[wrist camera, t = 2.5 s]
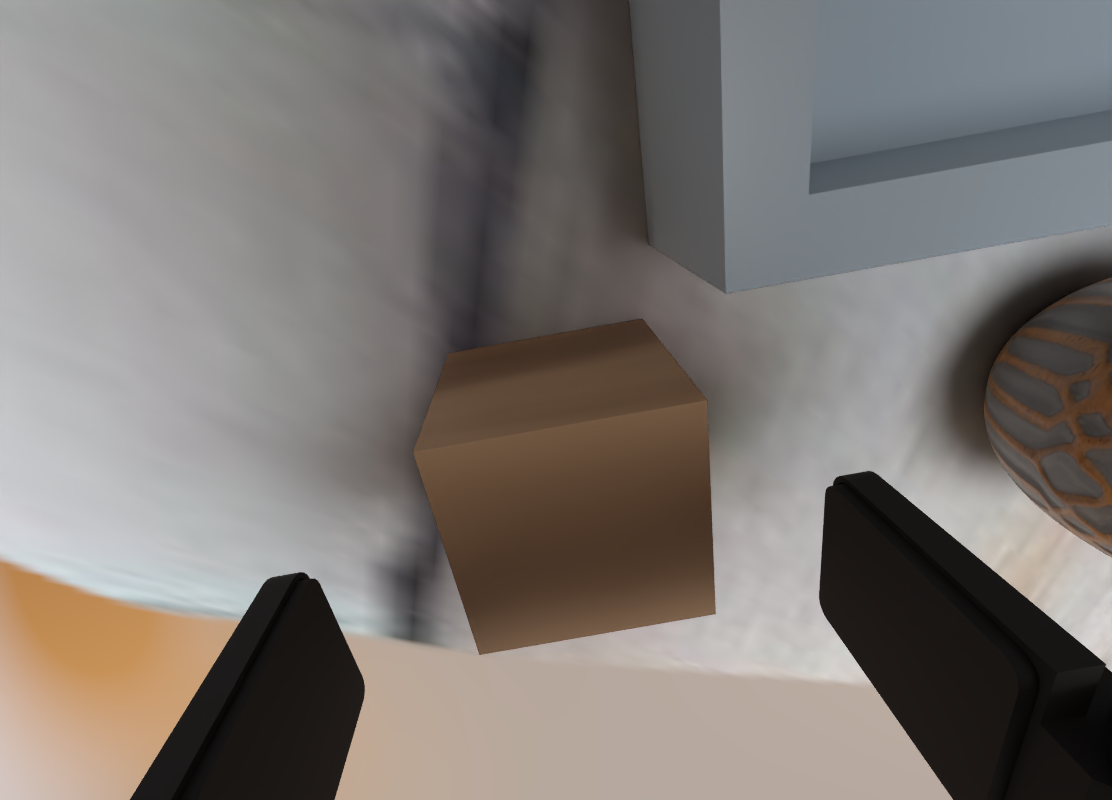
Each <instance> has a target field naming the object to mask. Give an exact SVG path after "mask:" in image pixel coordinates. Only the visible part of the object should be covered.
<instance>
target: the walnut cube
mask: <svg viewBox="0 0 1112 800" xmlns="http://www.w3.org/2000/svg"><path fill="white" fill-rule="evenodd" d="M413 454H414V457H415V460H416V463H417V466H418V469H419V472H420V475H421V478H422V481H423V484H424V487H425V490H426V493H427V496H428V499H429V502H430V506H431V509H432V512H433V515H434V518H435V521H436V524H437V527H438V530H439V533H440V536H441V539H442V542H443V545H444V548H445V551H446V554H447V557H448V560H449V563H450V566H451V569H452V572H453V575H454V579H455V582H456V585H457V588H458V591H459V594H460V597H461V600H462V603H463V606H464V609H465V612H466V615H467V618H468V621H469V624H470V627H471V630H472V633H473V636H474V639H475V642H476V645H477V648H478V652H479V655H481V654H487V653H493V652H499V651H505V650H510V649H516V648H522V647H528V646H533V645H539V644H545V643H551V642H557V641H562V640H568V639H574V638H580V637H585V636H591V635H597V634H603V633H608V632H614V631H620V630H626V629H632V628H637V627H643V626H649V625H655V624H660V623H666V622H672V621H678V620H683V619H689V618H695V617H701V616H707V615H712V614H716V611H715V586H714V561H713V536H712V511H711V486H710V461H709V436H708V410H707V400H706V398H705V397H704V396H703V395H702V393H701V392H700V391H699V389H698V388H697V387H696V386H695V384H694V383H693V382H692V381H691V379H690V378H689V377H688V376H687V374H686V373H685V372H684V371H683V369H682V368H681V367H680V365H679V364H678V363H677V362H676V360H675V359H674V358H673V357H672V355H671V354H670V353H669V352H668V350H667V349H666V348H665V347H664V345H663V344H662V343H661V341H660V340H659V339H658V338H657V336H656V335H655V334H654V333H653V331H652V330H651V329H650V328H649V326H648V325H647V324H646V323H645V321H644V320H643V319H637V320H632V321H626V322H621V323H615V324H609V325H604V326H598V327H592V328H587V329H581V330H576V331H570V332H564V333H559V334H553V335H547V336H542V337H536V338H531V339H525V340H519V341H514V342H508V343H502V344H497V345H491V346H486V347H480V348H474V349H469V350H463V351H457V352H452V353H448V356H447V359H446V361H445V364H444V367H443V370H442V373H441V375H440V378H439V381H438V384H437V386H436V389H435V392H434V395H433V398H432V400H431V403H430V406H429V409H428V412H427V414H426V417H425V420H424V423H423V426H422V428H421V431H420V434H419V437H418V440H417V442H416V445H415V448H414V451H413Z"/></svg>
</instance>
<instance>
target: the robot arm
mask: <svg viewBox="0 0 1112 800" xmlns="http://www.w3.org/2000/svg"><path fill="white" fill-rule="evenodd" d="M819 600H820V605H821V608H822V611H823V613H824V615H825V617H826V618H827V620H828V621H829V623H830V624H831V626H832V627H833V628H834V630H835V631H836V633H837V634H838V636H839V637H840V638H841V640H842V641H843V643H844V644H845V646H846V647H847V648H848V650H849V651H850V653H851V654H852V656H853V657H854V658H855V660H856V661H857V663H858V664H859V666H860V667H861V668H862V670H863V671H864V673H865V674H866V676H867V677H868V678H869V680H870V681H871V683H872V684H873V686H874V687H875V688H876V690H877V691H878V693H879V694H880V696H881V697H882V698H883V700H884V701H885V703H886V704H887V706H888V707H889V709H890V710H891V711H892V713H893V714H894V715H895V717H896V718H897V720H898V721H899V723H900V724H901V726H902V727H903V728H904V730H905V731H906V733H907V734H908V736H909V737H910V739H911V740H912V741H913V743H914V744H915V745H916V747H917V748H918V750H919V751H920V753H921V754H922V756H923V757H924V759H925V760H926V761H927V763H928V764H929V766H930V767H931V769H932V770H933V771H934V773H935V774H936V776H937V777H938V778H939V780H940V781H941V783H942V784H943V786H944V787H945V789H946V790H947V791H948V793H949V794H950V796H951V797H952V799H953V800H1112V672H1111V671H1110V670H1108V669H1107V668H1106V667H1105V666H1106V664H1105V663H1104V662H1103V661H1102V660H1100V659H1099V658H1098V657H1097V656H1096V655H1094V654H1093V653H1092V652H1091V651H1090V650H1088V649H1087V648H1086V647H1085V646H1084V645H1082V644H1081V643H1080V642H1079V641H1078V640H1076V639H1075V638H1074V637H1073V636H1072V635H1070V634H1069V633H1068V632H1067V631H1065V630H1064V629H1063V628H1062V627H1061V626H1059V625H1058V624H1057V623H1056V622H1055V621H1053V620H1052V619H1051V618H1050V617H1049V616H1047V615H1046V614H1045V613H1044V612H1043V611H1041V610H1040V609H1039V608H1038V607H1037V606H1035V605H1034V604H1033V603H1032V602H1031V601H1029V600H1028V599H1027V598H1026V597H1024V596H1023V595H1022V594H1021V593H1020V592H1018V591H1017V590H1016V589H1015V588H1014V587H1012V586H1011V585H1010V584H1009V583H1008V582H1006V581H1005V580H1004V579H1003V578H1002V577H1000V576H999V575H998V574H997V573H996V572H994V571H993V570H992V569H991V568H990V567H988V566H987V565H986V564H985V563H983V562H982V561H981V560H980V559H979V558H977V557H976V556H975V555H974V554H973V553H971V552H970V551H969V550H968V549H967V548H965V547H964V546H963V545H962V544H961V543H959V542H958V541H957V540H956V539H955V538H953V537H952V536H951V535H950V534H949V533H947V532H946V531H945V530H944V529H942V528H941V527H940V526H939V525H938V524H936V523H935V522H934V521H933V520H932V519H930V518H929V517H928V516H927V515H926V514H924V513H923V512H922V511H921V510H920V509H918V508H917V507H916V506H915V505H914V504H912V503H911V502H910V501H909V500H908V499H906V498H905V497H904V496H903V495H901V494H900V493H899V492H898V491H897V490H895V489H894V488H893V487H892V486H891V485H889V484H888V483H887V482H886V481H885V480H883V479H882V478H881V477H880V476H879V475H877V474H876V473H874V472H871V471H866V472H861V473H855V474H849V475H844V476H839V477H837V478H836V479H835V480H834V483H833V486H830V487H828V488H827V489H826V493H825V508H824V524H823V541H822V557H821V574H820V590H819ZM364 691H365V686H364V680H363V677H362V675H361V673H360V670H359V668H358V666H357V664H356V662H355V660H354V657H353V655H352V653H351V651H350V649H349V646H348V644H347V642H346V640H345V638H344V635H343V633H342V631H341V629H340V627H339V625H338V622H337V620H336V618H335V616H334V614H333V612H332V609H331V607H330V605H329V603H328V601H327V598H326V596H325V594H324V592H323V590H322V588H321V585H320V583H319V582H318V581H317V580H316V579H310V578H309V576H308V575H307V574H305V573H302V572H300V573H294V574H289V575H283V576H277V577H272V578H270V579H268V580H267V581H266V582H265V583H264V584H263V586H262V587H261V589H260V591H259V592H258V594H257V595H256V597H255V599H254V600H253V602H252V604H251V605H250V607H249V608H248V610H247V612H246V613H245V615H244V616H243V618H242V620H241V621H240V623H239V624H238V626H237V628H236V629H235V631H234V633H233V634H232V636H231V638H230V639H229V641H228V642H227V644H226V646H225V647H224V649H223V650H222V652H221V654H220V655H219V657H218V658H217V660H216V662H215V663H214V665H213V667H212V668H211V670H210V671H209V673H208V675H207V676H206V678H205V679H204V681H203V683H202V684H201V686H200V687H199V689H198V691H197V692H196V694H195V696H194V697H193V699H192V700H191V702H190V704H189V705H188V707H187V708H186V710H185V712H184V713H183V715H182V717H181V718H180V720H179V721H178V723H177V725H176V726H175V728H174V729H173V731H172V733H171V734H170V736H169V737H168V739H167V741H166V742H165V744H164V746H163V747H162V749H161V750H160V752H159V754H158V755H157V757H156V759H155V760H154V762H153V763H152V765H151V767H150V768H149V770H148V771H147V773H146V775H145V776H144V778H143V779H142V781H141V783H140V784H139V786H138V788H137V789H136V791H135V792H134V794H133V796H132V797H131V799H130V800H334V799H335V796H336V792H337V789H338V786H339V782H340V779H341V775H342V772H343V769H344V765H345V762H346V758H347V755H348V751H349V748H350V744H351V741H352V738H353V734H354V731H355V728H356V724H357V721H358V717H359V713H360V710H361V707H362V703H363V700H364Z"/></svg>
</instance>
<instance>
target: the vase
mask: <svg viewBox="0 0 1112 800" xmlns="http://www.w3.org/2000/svg"><path fill="white" fill-rule="evenodd" d="M984 418H985V424H986V429H987V433H988V438H989V441H990V444H991V446H992V448H993V450H994V452H995V454H996V456H997V457H998V459H999V461H1000V463H1001V464H1002V466H1003V468H1004V469H1005V470H1006V472H1007V473H1008V474H1009V475H1010V477H1011V478H1012V479H1013V481H1014V482H1015V483H1016V485H1017V486H1018V487H1019V488H1020V489H1021V490H1022V491H1023V492H1024V493H1025V494H1026V495H1027V496H1028V497H1029V498H1030V499H1031V500H1032V501H1033V502H1034V503H1035V504H1036V505H1037V506H1038V507H1039V508H1040V509H1042V510H1043V511H1044V512H1045V513H1047V514H1048V515H1049V516H1050V517H1052V518H1053V519H1054V520H1055V521H1057V522H1058V523H1059V524H1060V525H1062V526H1063V527H1065V528H1066V529H1068V530H1069V531H1070V532H1072V533H1073V534H1075V535H1076V536H1077V537H1079V538H1080V539H1082V540H1084V541H1085V542H1087V543H1088V544H1090V545H1092V546H1093V547H1095V548H1096V549H1098V550H1100V551H1101V552H1103V553H1105V554H1106V555H1108V556H1110V557H1112V277H1110V278H1107V279H1105V280H1102V281H1099V282H1097V283H1094V284H1092V285H1089V286H1086V287H1084V288H1082V289H1079V290H1077V291H1075V292H1073V293H1071V294H1069V295H1067V296H1066V297H1064V298H1062V299H1060V300H1059V301H1057V302H1055V303H1054V304H1052V305H1050V306H1049V307H1047V308H1045V309H1044V310H1043V311H1041V312H1040V313H1038V314H1037V315H1035V316H1034V317H1033V318H1031V319H1030V320H1029V321H1028V322H1026V323H1025V324H1024V325H1023V326H1022V327H1021V328H1020V329H1019V330H1018V331H1017V332H1016V333H1015V334H1014V335H1013V336H1012V337H1011V338H1010V339H1009V340H1008V342H1007V343H1006V344H1005V346H1004V347H1003V348H1002V350H1001V351H1000V353H999V355H998V356H997V358H996V360H995V362H994V364H993V366H992V369H991V371H990V374H989V378H988V381H987V386H986V392H985V401H984Z"/></svg>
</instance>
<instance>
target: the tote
mask: <svg viewBox="0 0 1112 800" xmlns="http://www.w3.org/2000/svg"><path fill="white" fill-rule="evenodd" d="M629 10H630V22H631V35H632V47H633V59H634V71H635V84H636V96H637V108H638V120H639V132H640V145H641V157H642V169H643V181H644V194H645V206H646V218H647V230H648V242H649V245H650V246H652V247H653V248H655V249H656V250H658V251H660V252H661V253H663V254H664V255H666V256H667V257H669V258H671V259H672V260H674V261H675V262H677V263H678V264H680V265H682V266H683V267H685V268H686V269H688V270H689V271H691V272H692V273H694V274H696V275H697V276H699V277H700V278H702V279H703V280H705V281H707V282H708V283H710V284H711V285H713V286H714V287H716V288H718V289H719V290H721V291H722V292H724V293H725V294H727V293H733V292H738V291H744V290H750V289H755V288H761V287H767V286H772V285H778V284H783V283H789V282H795V281H800V280H806V279H812V278H817V277H823V276H829V275H834V274H840V273H845V272H851V271H857V270H862V269H868V268H874V267H879V266H885V265H891V264H896V263H902V262H907V261H913V260H919V259H924V258H930V257H936V256H941V255H947V254H952V253H958V252H964V251H969V250H975V249H981V248H986V247H992V246H998V245H1003V244H1009V243H1014V242H1020V241H1026V240H1031V239H1037V238H1043V237H1048V236H1054V235H1060V234H1065V233H1071V232H1076V231H1082V230H1088V229H1093V228H1099V227H1105V226H1110V225H1112V0H629Z"/></svg>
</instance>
